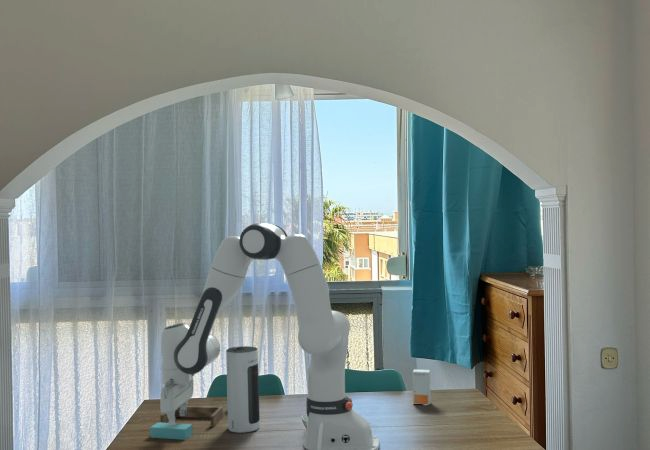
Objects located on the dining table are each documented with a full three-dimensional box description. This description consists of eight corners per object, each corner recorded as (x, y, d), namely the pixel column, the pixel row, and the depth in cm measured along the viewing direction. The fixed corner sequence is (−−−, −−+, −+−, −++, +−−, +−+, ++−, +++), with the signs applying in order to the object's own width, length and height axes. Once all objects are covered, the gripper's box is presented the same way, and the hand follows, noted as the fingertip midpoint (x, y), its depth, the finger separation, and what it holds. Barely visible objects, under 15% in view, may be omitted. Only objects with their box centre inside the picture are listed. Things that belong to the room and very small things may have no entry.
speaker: (242, 435, 201) (240, 352, 201) (220, 429, 208) (218, 348, 208) (266, 427, 209) (264, 346, 209) (244, 421, 216) (243, 343, 216)
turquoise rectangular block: (192, 435, 204) (192, 424, 204) (185, 440, 199) (185, 429, 199) (158, 433, 206) (158, 422, 206) (150, 438, 202) (150, 427, 202)
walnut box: (223, 416, 221) (222, 406, 221) (213, 427, 211) (213, 416, 210) (172, 416, 224) (172, 405, 224) (160, 426, 213) (160, 415, 213)
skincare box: (412, 404, 231) (411, 371, 231) (414, 401, 236) (413, 368, 236) (429, 406, 230) (428, 372, 230) (431, 402, 234) (430, 369, 234)
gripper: (174, 384, 191) (176, 430, 191) (196, 368, 212) (197, 410, 212) (154, 384, 192) (155, 430, 192) (177, 368, 212) (179, 410, 212)
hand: (178, 420), depth 202 cm, fingers open, 8 cm apart
